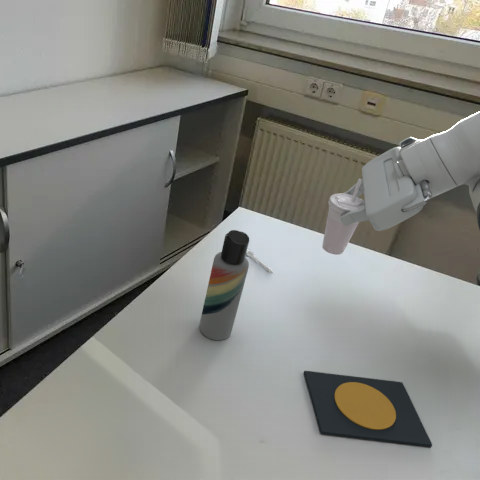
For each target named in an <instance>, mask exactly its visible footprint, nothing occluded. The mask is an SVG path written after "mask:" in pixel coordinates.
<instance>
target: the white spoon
mask: <svg viewBox="0 0 480 480" xmlns="http://www.w3.org/2000/svg"><path fill="white" fill-rule="evenodd" d="M246 255H248V256H249V257H250V258H251V259H252V260H254V261H255V262H256V263H258V264H259V265H260V266H261V267H263V268H264V269H265V270H266V271H267V272H269V273H270V274H274V271H273V270H272V268H270V267H269V266H267V264H265V263H264V262H263V261H262V260H260V259H259V258H258V257H256V256H255V254H254V251H252V250H251V249H250V248H248V249H247V252H246Z"/></svg>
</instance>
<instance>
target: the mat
mask: <svg viewBox="0 0 480 480" xmlns="http://www.w3.org/2000/svg"><path fill="white" fill-rule="evenodd" d="M303 376H304V379H305V383H306V387H307V391H308V393H309V398H310V401H311V405H312V409H313V412H314V415H315V419H316V423H317V427H318V430H319V432H320V435H325V436H333V437H341V438H348V439H357V440H366V441H374V442H382V443H390V444H391V443H392V444H397V445H398V444H399V445H409V446H415V447H422V448H423V447H425V448H432V446H433V443H432V441H431V439H430V437H429V435H428V433H427V430H426V429H425V427H424V424H423V422H422V420H421V418H420V416H419V414H418V412H417V410H416V408H415V405H414V403H413V401H412V399H411V397H410V395H409V393H408V391H407V389H406V386H405V384H404V382H403V381H395V380H386V379H380V378H379V379H378V378H369V377H361V376H354V375H346V374H345V375H344V374H336V373H330V372H329V373H328V372H320V371H311V370H303Z"/></svg>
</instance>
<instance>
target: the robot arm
mask: <svg viewBox="0 0 480 480" xmlns="http://www.w3.org/2000/svg"><path fill="white" fill-rule="evenodd" d="M398 144H399V145H398V146H394V147H392V148H390V149H388V150H386V151H385V152H383V153H381V154H379V155H378V156H376V157H374V158H372V159H371V160H369V161H367V163H365V164H364V165H363V167H362V168H361V175H362V176H361V177H362V181H361V184H360V187H359V190H358V193H357V195H356V197H358V198H360V197H361V196H362V195H363V196H364V198H363V199H364V201H365V205H363V206H361V207H360V208H359V209H358V210H354V211H350V210H348V211H346V212H345V213H342V214H341V222H342V223H343V225H345V226H348V225H350V224H352V223H354V222H359V223H361V222H367V221H369V223H370V224H371V226H372V227H373V229H374V230H375V231H377V232H381V231H386V230H388V229H390V228H392V227H394V226H397V225H399V224H400V223H402V222H405V221H406V220H408V219H410V218H411V217H413V216H415V215H417V214H419V213H420V212H421V211H422V210H423V208H424V206H425V205H426V204H427V202H428V201H429V200H431V199H433V198H435V197H437V196H439V195H442V194H444V193H446V192H449V191H450V190H453V189H455V188H457V187H459V186H462V185H467V186H468V192H469V198H470V200H471V203H472V207H473V210H474V212H475V214H476V220H477V226H478V229H479V231H480V111H478V112H476V113H474V114H471V115H469V116H468V117H465V118H463V119H460V121H458V122H457V123H455V124H454V125H453V126H452V127H451V128H448V129H447V130H446V131H442V132H440V133H436V134H432V135H430V136H428V137H426V138H424V139H418V138H415V137H412V136H409V137H406V138H404V139H403V140H401V141H400V142H399V143H398ZM356 185H357V182H356V183H354V184H353V185H352V186H351V187H350V188H349V189H348V190H346V191H344V192H342V193H341V194H349V195H353V193H354V191H355V188H356Z"/></svg>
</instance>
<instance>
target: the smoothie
mask: <svg viewBox="0 0 480 480" xmlns="http://www.w3.org/2000/svg"><path fill="white" fill-rule="evenodd" d="M362 180H363V178H358V179H357V182H356V183H357V185H356V188H355V191H354V193H353V195H349V194H342V193H334V194H332V195H330V196H329V199H328V201H327V204H328V212H327V217H326V224H325V229H324V233H323V240H322V246H321V247H322V249H323V250H324V251H325V252H326V253H328V254H331V255H334V256H335V255H337V256H338V255H342V254H343V253H344V252H345V250H346V248H347V246H348V244H349V243H350V240H351V238H352V237H353V235H354V233H355V232H356V229H357V228H358V225H360V222H354V223H352V224H350V225H348V226H345V225H343V223H342V222H341V214H342V213H345V212H346V211H348V210H350V211H354V210H358V209H359V208H360V207H361V206H363V205H365V199H363V198H361V197H356V195H357V193H358V190H359V187H360V184H361V181H362Z"/></svg>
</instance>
